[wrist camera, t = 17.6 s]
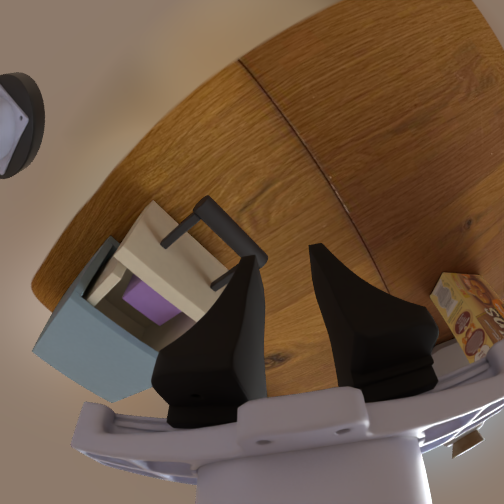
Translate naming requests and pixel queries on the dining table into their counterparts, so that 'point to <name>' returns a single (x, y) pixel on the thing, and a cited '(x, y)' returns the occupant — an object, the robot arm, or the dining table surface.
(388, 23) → the dining table surface
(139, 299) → the cube
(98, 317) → the grey drawer box
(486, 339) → the candy box
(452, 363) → the bottle
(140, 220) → the beige drawer
